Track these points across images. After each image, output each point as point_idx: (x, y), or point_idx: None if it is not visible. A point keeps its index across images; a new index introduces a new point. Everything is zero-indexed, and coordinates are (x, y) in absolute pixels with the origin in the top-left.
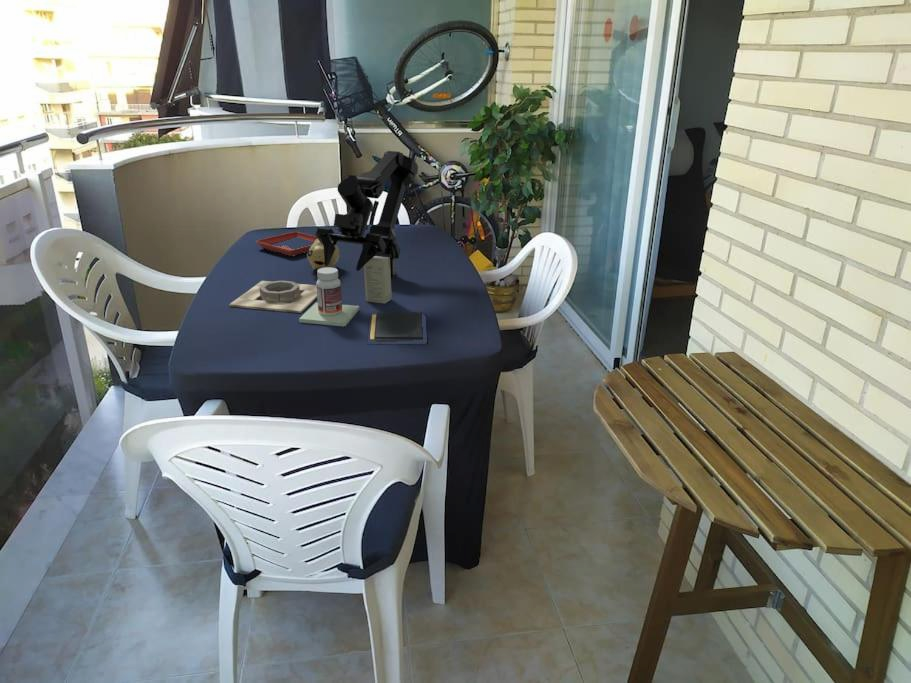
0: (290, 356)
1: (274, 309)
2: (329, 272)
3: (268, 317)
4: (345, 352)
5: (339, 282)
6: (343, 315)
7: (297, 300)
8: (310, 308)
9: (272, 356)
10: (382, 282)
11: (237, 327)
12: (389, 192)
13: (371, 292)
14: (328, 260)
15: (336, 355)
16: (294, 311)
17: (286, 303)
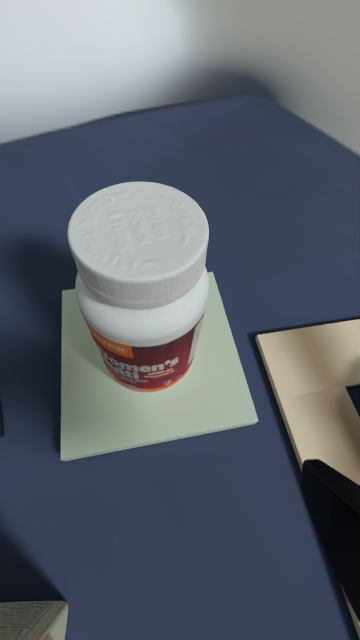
0: (123, 153)
1: (343, 322)
2: (108, 201)
3: (313, 279)
4: (16, 187)
5: (75, 284)
6: (89, 340)
7: (346, 422)
8: (234, 353)
9: (156, 146)
10: None
11: (323, 213)
12: None
13: (2, 622)
14: (333, 528)
15: (32, 174)
16: (277, 333)
17: (352, 376)
